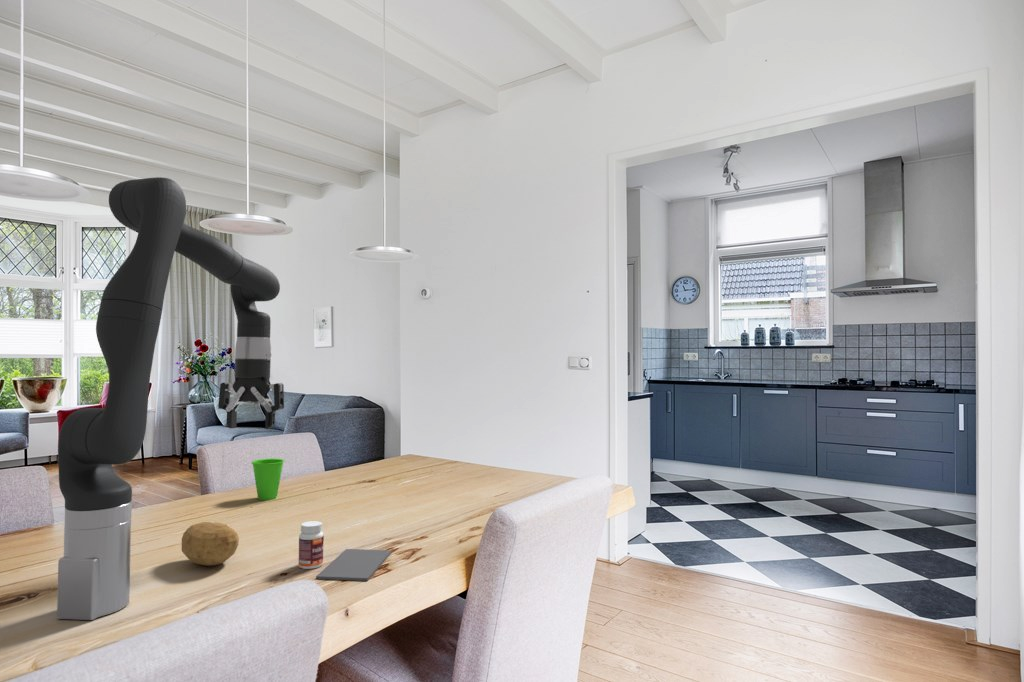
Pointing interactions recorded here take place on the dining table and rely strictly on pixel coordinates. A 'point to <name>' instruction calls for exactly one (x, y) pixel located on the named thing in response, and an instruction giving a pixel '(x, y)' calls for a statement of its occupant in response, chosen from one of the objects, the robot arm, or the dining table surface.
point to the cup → (267, 477)
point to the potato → (209, 543)
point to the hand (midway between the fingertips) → (250, 428)
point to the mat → (354, 565)
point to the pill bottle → (311, 545)
